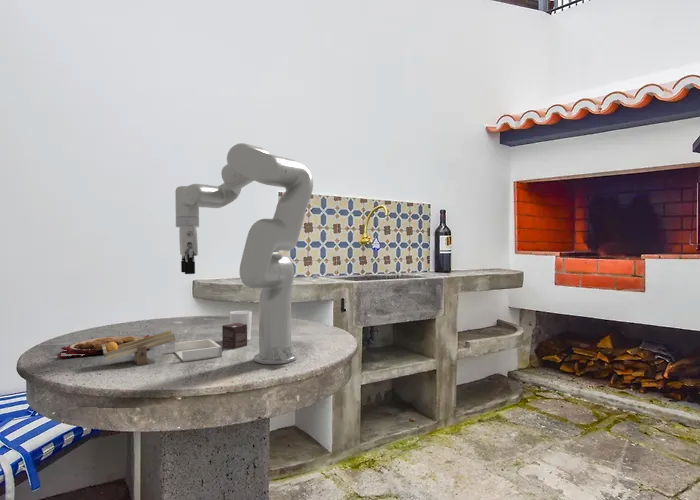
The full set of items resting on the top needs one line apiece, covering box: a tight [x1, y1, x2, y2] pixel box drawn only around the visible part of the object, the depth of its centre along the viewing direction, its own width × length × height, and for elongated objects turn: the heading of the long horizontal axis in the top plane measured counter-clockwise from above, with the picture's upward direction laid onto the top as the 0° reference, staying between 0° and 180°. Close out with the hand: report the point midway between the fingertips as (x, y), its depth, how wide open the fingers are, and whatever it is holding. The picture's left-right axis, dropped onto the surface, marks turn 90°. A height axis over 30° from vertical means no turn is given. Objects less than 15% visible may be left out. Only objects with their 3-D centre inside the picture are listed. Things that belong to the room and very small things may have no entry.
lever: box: [102, 330, 177, 362], centre depth 139 cm, size 13×19×4 cm, turn 121°
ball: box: [106, 342, 118, 352], centre depth 132 cm, size 3×3×3 cm
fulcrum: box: [133, 346, 148, 366], centre depth 136 cm, size 8×2×5 cm, turn 31°
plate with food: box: [57, 334, 150, 358], centre depth 155 cm, size 25×26×4 cm
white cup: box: [229, 310, 253, 341], centre depth 166 cm, size 8×8×10 cm
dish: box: [173, 338, 223, 363], centre depth 144 cm, size 14×12×3 cm
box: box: [221, 323, 248, 350], centre depth 156 cm, size 6×6×7 cm
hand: (188, 273), depth 156 cm, fingers open, 9 cm apart
